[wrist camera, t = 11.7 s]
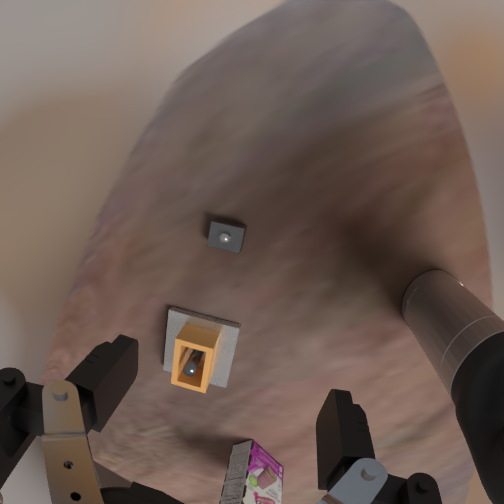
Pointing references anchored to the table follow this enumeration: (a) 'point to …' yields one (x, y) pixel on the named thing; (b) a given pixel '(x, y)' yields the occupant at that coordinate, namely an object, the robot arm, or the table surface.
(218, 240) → the grey knob block
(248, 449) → the candy bar box
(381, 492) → the robot arm
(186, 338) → the orange link
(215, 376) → the plate
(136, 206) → the table surface
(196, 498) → the table surface
